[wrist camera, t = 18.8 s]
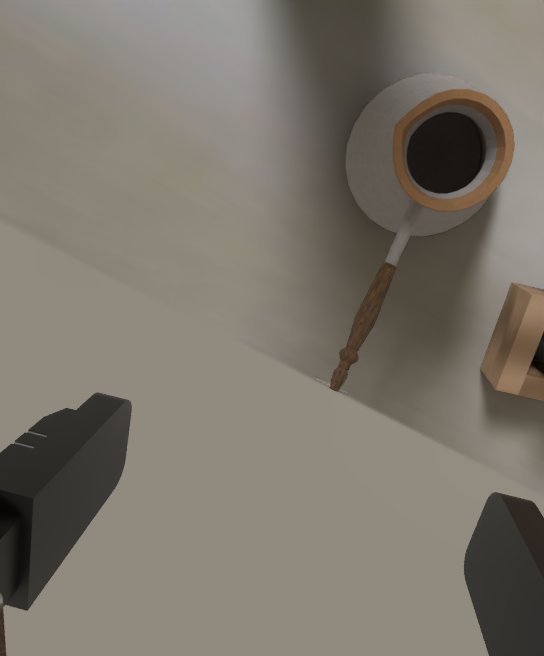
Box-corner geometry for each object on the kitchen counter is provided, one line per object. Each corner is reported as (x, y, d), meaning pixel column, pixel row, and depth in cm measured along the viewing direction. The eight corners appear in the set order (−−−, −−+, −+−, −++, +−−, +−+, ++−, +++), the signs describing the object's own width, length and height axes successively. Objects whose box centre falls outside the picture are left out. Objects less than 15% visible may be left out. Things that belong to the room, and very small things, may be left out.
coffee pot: (386, 54, 37) (417, -21, 23) (523, 119, 37) (637, 83, 23) (273, 300, 44) (242, 359, 30) (388, 354, 44) (412, 438, 30)
